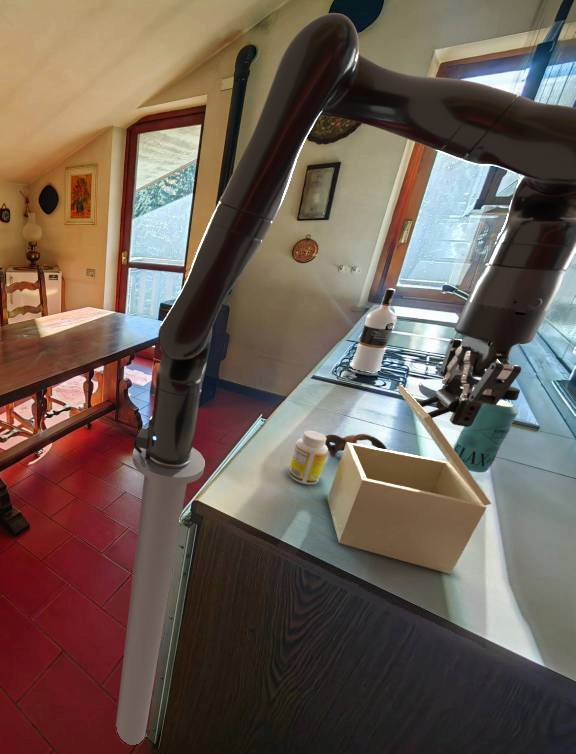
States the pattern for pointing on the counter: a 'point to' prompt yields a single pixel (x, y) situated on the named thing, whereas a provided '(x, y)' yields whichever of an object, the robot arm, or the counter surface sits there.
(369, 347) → the vodka
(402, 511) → the wooden keepsake chest
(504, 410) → the beverage bottle
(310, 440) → the supplement bottle
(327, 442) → the dark brown curved piece
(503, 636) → the counter surface
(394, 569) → the counter surface
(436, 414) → the chest lid
